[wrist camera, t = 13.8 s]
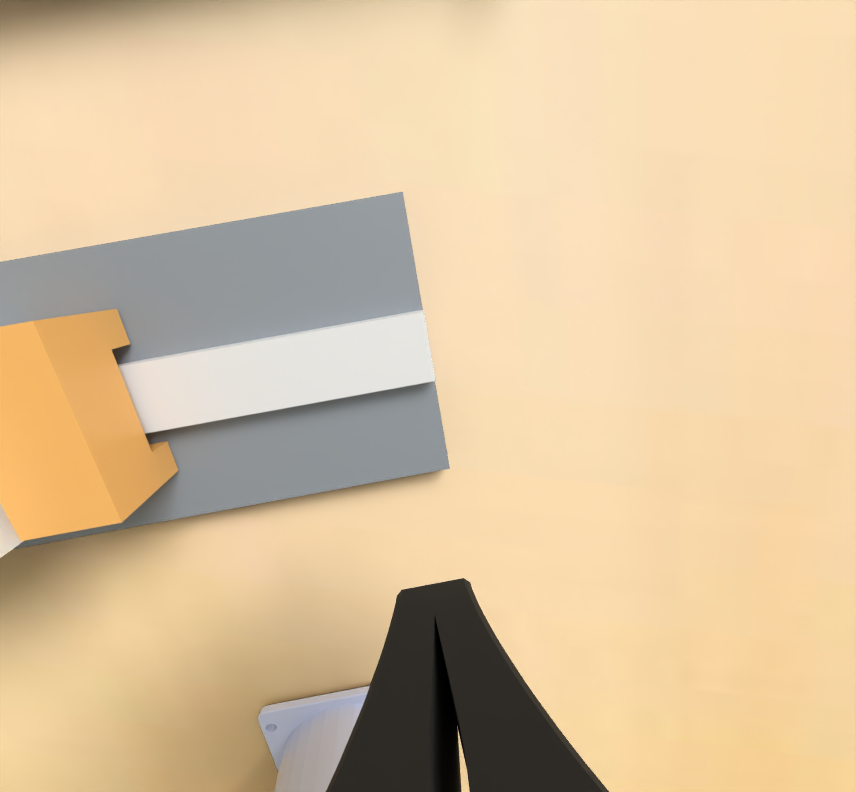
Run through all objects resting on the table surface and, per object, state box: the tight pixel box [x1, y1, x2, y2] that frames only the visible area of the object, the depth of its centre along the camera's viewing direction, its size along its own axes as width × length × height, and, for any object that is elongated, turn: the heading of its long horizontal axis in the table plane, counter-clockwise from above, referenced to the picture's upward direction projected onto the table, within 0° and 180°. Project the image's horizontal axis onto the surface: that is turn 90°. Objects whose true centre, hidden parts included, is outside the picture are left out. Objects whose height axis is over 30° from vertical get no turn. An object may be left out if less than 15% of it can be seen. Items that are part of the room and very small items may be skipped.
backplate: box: [0, 192, 450, 549], centre depth 14 cm, size 10×24×4 cm, turn 100°
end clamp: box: [0, 309, 178, 541], centre depth 13 cm, size 6×3×3 cm, turn 10°
